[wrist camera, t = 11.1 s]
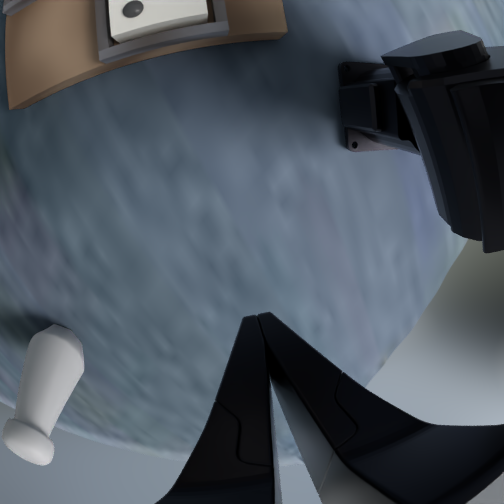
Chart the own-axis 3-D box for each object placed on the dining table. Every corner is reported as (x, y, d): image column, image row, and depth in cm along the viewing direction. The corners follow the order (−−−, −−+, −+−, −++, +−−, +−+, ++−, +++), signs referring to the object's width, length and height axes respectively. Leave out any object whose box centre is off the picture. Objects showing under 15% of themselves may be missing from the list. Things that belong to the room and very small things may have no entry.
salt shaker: (29, 330, 21) (-18, 436, 10) (56, 307, 21) (1, 430, 9) (70, 367, 24) (41, 474, 12) (101, 349, 23) (73, 473, 12)
